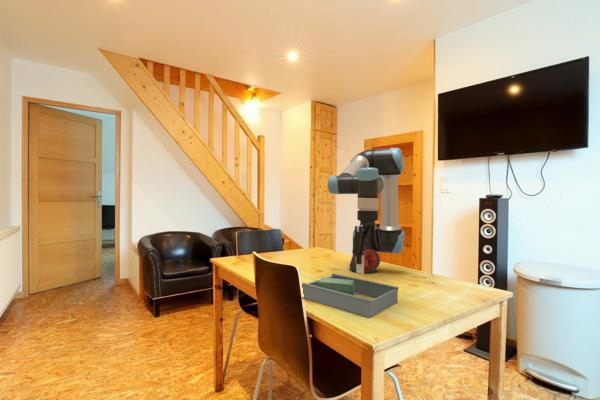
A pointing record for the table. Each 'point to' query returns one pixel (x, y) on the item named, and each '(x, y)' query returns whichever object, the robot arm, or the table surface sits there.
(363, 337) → the table surface
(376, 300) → the tray
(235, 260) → the table surface
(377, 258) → the fruit
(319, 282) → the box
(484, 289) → the table surface
